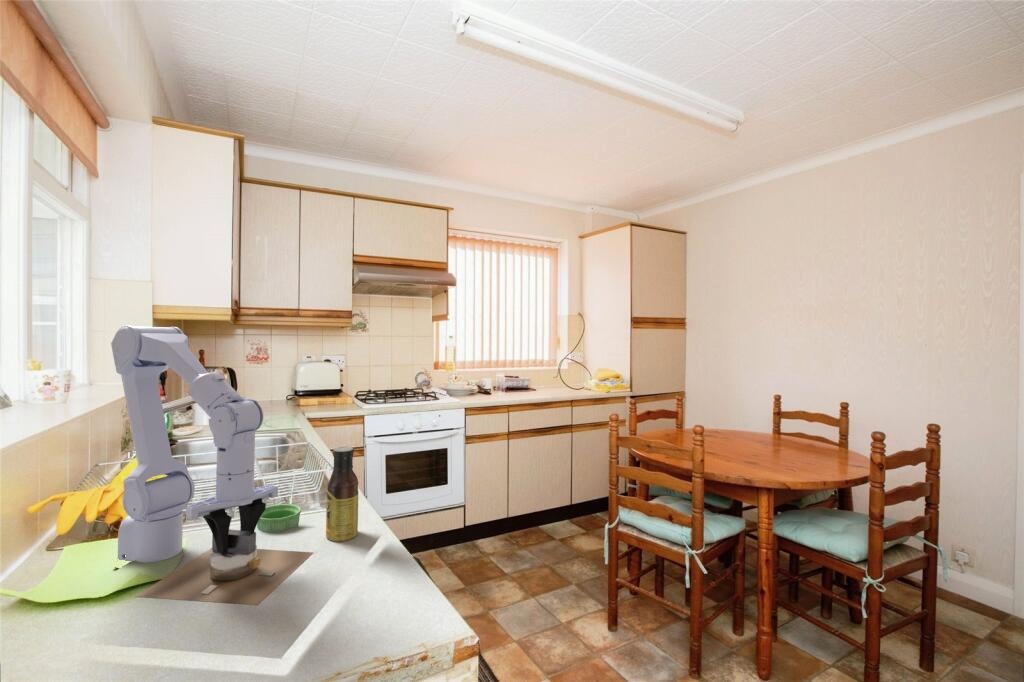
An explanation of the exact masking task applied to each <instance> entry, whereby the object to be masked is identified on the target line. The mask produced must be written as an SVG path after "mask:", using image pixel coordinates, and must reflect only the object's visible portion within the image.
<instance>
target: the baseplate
mask: <svg viewBox="0 0 1024 682" xmlns="http://www.w3.org/2000/svg"><path fill="white" fill-rule="evenodd" d="M211 552H212V547H211V548H209V549H208V550H206V551H205V552H203V553H201V554H200V555H198V556H197V557H195V558H193V559H192V560H190V561H189V562H188V563H186V564H184V565H183V566H181V567H179V568H178V569H175V570H174V571H173V572H172V573H170V574H168V575H166V576H165V577H164V578H162V579H161V580H159V581H157V582H156V583H154V584H153V585H150V587H148V588H147V589H144V590H143V591H142V592H140V593H138V594H137V595H135V598H149V599H150V598H151V599H163V600H174V601H188V602H189V601H191V602H192V601H193V602H204V603H218V604H234V605H246V606H259V605H260V604H261V603H262V602H263V601H264V600H265V599H267V597H268V596H270V595H271V593H273V592H274V591H275V590H276V589H277V588H278V587H279V586H280V585H281V584H282V583H284V581H285V580H286V579H288V577H290V576H291V575H292V574H293V573H294V572H295V571H296V570H297V569H298V568H299V567H300V566H302V564H304V562H306V561H307V560H308V559H309V558H310V557H311V556H312V555H313V554H314V553H315V552H314V551H313V552H312V551H299V550H297V551H296V550H295V551H294V550H282V549H268V548H267V549H266V548H257V556H256V557H259V558H260V565H259V566H257V567H256V569H255V570H254V571H253V572H252V573H250V574H249V575H247V576H244V577H242V578H238V579H234V580H228V581H218V580H214V579H212V578H211V577H210V554H211Z"/></svg>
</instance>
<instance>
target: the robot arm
mask: <svg viewBox="0 0 1024 682" xmlns="http://www.w3.org/2000/svg"><path fill="white" fill-rule="evenodd" d="M110 345H111V350H112V356H113V360H114V365H115V366H114V367H115V371H116V373H117V374H119V375H120V376H121V382H122V386H123V387H122V388H123V393H124V398H125V403H126V409H127V413H128V419H129V424H130V431H131V435H132V441H133V446H134V451H135V457H136V462H137V466H136V467H135V468H134V469H133V470H132V471H131V472H130V473H129V474H128V475H127V476H125V478H124V479H123V481H122V484H123V495H122V508H123V510H124V512H125V513H126V515H127V516H126V517H125V518H123V520H122V521H121V524H120V525H119V528H118V533H117V560H118V559H119V560H125V561H133V562H138V563H155V562H160V561H164V560H167V559H170V558H173V557H175V556H177V555H179V554H180V553H181V552H182V550H183V527H184V526H183V524H184V522H183V521H184V517H183V516H184V511H185V519H188V520H190V521H195V520H196V521H197V520H198V519H199V518H200V517H203V519H204V521H205V522H206V523H207V525H208V527H209V529H210V532H211V533H212V534H213V536H214V539H215V543H216V547H217V552H219V553H221V554H226V553H227V552H228V533H229V529H230V527H231V523H232V518H233V517H232V516H231V515H229V514H228V511H226V510H230V509H232V508H233V509H234V508H236V507H238V512H239V513H238V514H239V521H240V524H239V525H240V526H239V527H240V529H239V530H240V531H250V532H256V531H255V530H256V528H257V523H258V521H259V519H260V517H261V515H262V514H263V512H264V511H265V508H266V507H267V505H266V503H265V502H263V500H266V499H269V498H271V499H275V498H277V497H278V496H279V495H278V494H279V486H277V485H276V484H275V485H274V484H269V485H262V486H258V487H255V457H256V456H255V455H256V453H255V452H256V450H255V449H256V443H255V442H256V431H257V430H259V429H260V427H261V426H262V425H263V422H264V411H263V408H262V406H261V405H260V404H259V402H258V401H257V400H256V399H254V398H246V396H241V394H239V393H238V392H237V391H236V390H235V389H234V387H232V386H231V385H230V383H228V381H227V380H225V379H226V377H225V376H224V375H223V374H220V373H217V372H208V370H206V368H205V367H204V365H203V364H202V363H201V362H200V361H199V359H198V358H197V357H196V355H195V354H194V353H193V352H192V350H191V349H190V347H189V337H188V336H187V335H186V334H184V332H183V331H182V329H181V328H179V327H177V326H170V327H169V326H167V327H163V326H132V325H122V326H121V327H120V328H119V329H118V330H116V333H115V334H114V337H113V339H112V342H110ZM168 369H171V370H172V371H173V372H175V373H176V374H177V375H178V376H179V377H180V378H181V379H183V380H184V382H186V383H187V384H188V385H189V388H188V396H190V397H191V399H192V400H193V401H194V402H195V403H196V404H197V405H198V406H199V407H200V408H201V410H203V412H204V413H205V414H207V416H208V417H209V418H208V427H209V429H210V431H211V433H212V436H213V437H212V438H213V444H214V446H215V447H216V473H215V477H216V478H215V484H216V486H215V496H211V497H209V498H207V499H204V500H201V501H198V502H196V503H193V504H190V505H188V504H189V503H190V502H191V501H192V500H193V498H194V496H195V491H196V488H195V487H196V485H195V482H194V480H193V478H192V477H191V474H190V473H189V469H188V466H187V464H186V463H184V462H181V461H180V460H178V459H176V458H174V457H173V454H172V450H171V449H172V448H171V445H170V439H169V433H168V430H167V429H168V428H167V424H166V418H165V413H164V409H163V402H162V397H161V392H160V388H159V383H158V378H159V376H160V375H161V374H162V373H164V372H165V371H168ZM159 476H162V477H159ZM153 477H159V478H156V479H151V478H153ZM149 479H150V480H149ZM125 555H126V557H125Z"/></svg>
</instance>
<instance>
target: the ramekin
mask: <svg viewBox="0 0 1024 682" xmlns="http://www.w3.org/2000/svg"><path fill="white" fill-rule="evenodd" d="M301 513H302V508H301V507H300V506H299V505H296V504H291V503H290V504H289V503H288V504H287V503H285V504H284V503H283V504H273V505H269V506H266V508H265V511H264V512H263V514H262V515H261V517H260V519H259V521H258V523H257V525H256V528H257V530H259V531H262V532H267V533H270V532H271V533H272V532H273V533H274V532H282V531H286V530H289V529H293V528H299V525H300V517H301V516H300V515H301Z"/></svg>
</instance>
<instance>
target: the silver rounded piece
mask: <svg viewBox="0 0 1024 682" xmlns="http://www.w3.org/2000/svg"><path fill="white" fill-rule="evenodd" d="M211 541H212V542H211V548H212V552H211V554H210V577H211V578H212V579H214V580H218V581H228V580H234V579H238V578H242V577H244V576H247V575H249V574H250V573H252V572H253V571H254V570H255V569H256V567H257V566H259V565H260V558H259V557H256V556H257V549H258V547H257V543H256V542H257V532H256V531H254V532H250V531H240V529H230V528H229V533H228V552H227V553H226V554H221V553H219V552H217V547H216V543H215V539H214V536H213V534H212V540H211Z"/></svg>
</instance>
